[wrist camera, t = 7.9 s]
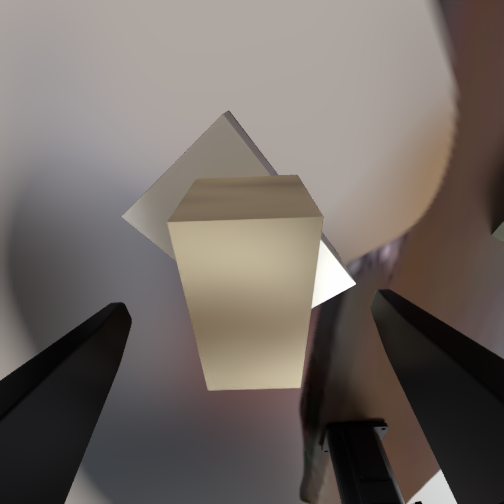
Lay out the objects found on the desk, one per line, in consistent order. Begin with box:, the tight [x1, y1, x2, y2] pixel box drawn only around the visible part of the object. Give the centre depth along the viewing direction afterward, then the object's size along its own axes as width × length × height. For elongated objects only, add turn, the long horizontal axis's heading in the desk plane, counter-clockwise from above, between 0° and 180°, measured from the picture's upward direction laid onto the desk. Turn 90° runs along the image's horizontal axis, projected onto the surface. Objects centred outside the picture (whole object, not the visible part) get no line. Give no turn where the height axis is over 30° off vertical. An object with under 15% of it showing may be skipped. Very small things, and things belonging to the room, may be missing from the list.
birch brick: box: [167, 175, 324, 390], centre depth 10 cm, size 8×4×4 cm, turn 2°
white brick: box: [122, 111, 355, 308], centre depth 13 cm, size 10×6×3 cm, turn 40°
